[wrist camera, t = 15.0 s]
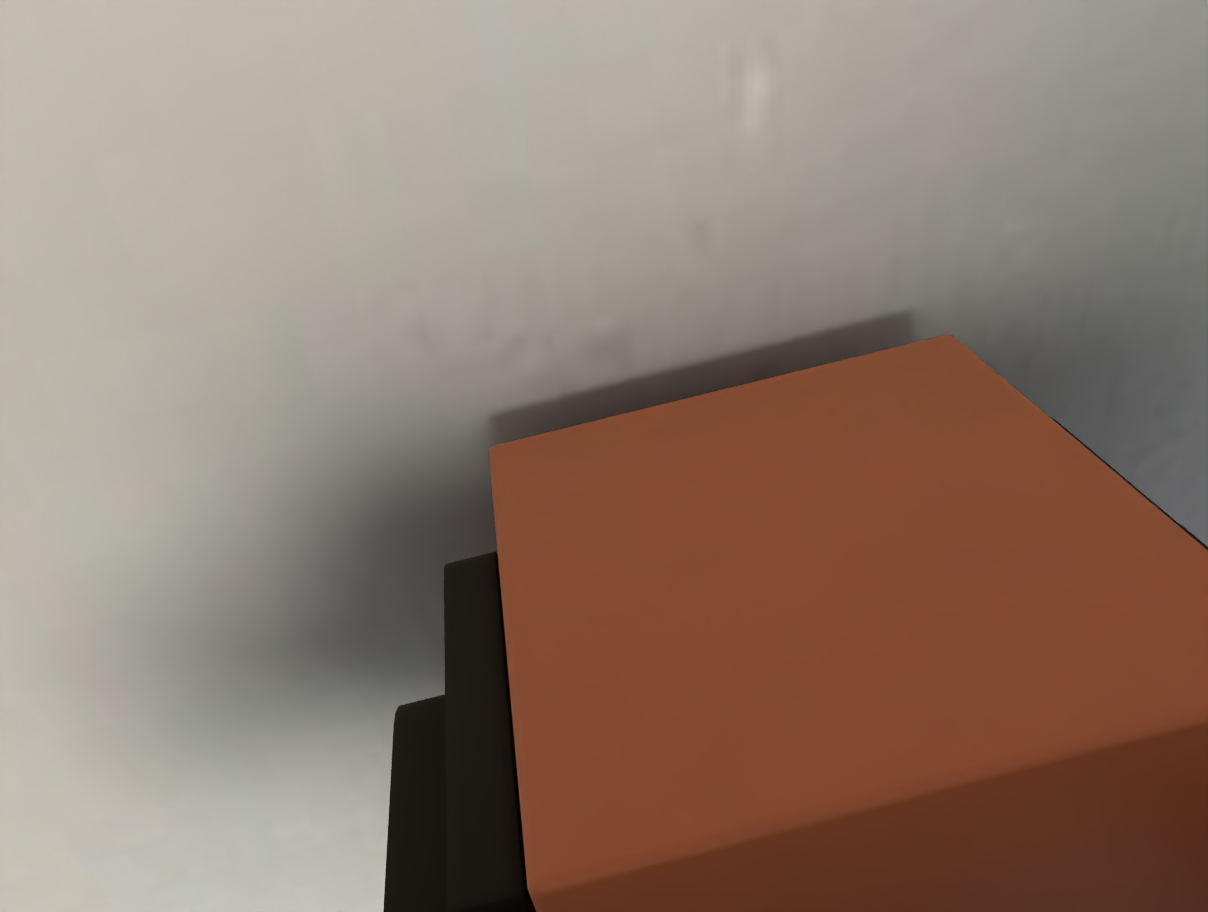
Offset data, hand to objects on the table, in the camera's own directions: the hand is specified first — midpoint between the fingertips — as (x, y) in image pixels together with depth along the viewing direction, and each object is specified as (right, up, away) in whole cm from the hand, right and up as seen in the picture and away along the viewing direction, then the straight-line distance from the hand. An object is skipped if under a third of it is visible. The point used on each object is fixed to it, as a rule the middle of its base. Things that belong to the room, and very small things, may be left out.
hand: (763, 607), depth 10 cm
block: (0, 0, +1) cm, 1 cm away
